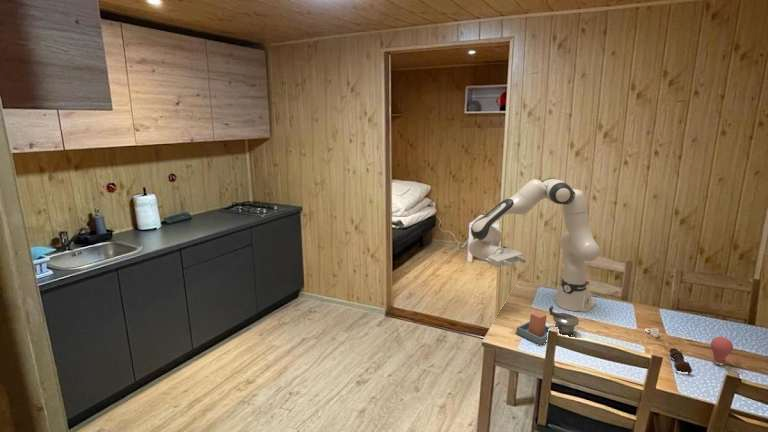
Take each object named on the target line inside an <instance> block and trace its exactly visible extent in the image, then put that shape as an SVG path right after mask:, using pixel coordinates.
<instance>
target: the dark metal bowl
mask: <svg viewBox="0 0 768 432" xmlns="http://www.w3.org/2000/svg"><path fill="white" fill-rule="evenodd" d="M553 309H554V306H553V305H550V307H549V308H548V313H549V315H551V316H552V320H553V321H554V322H555V327H558V329H559V333H560V334H562V335H568V336H570V337H572V336H571V335H573V336H574V333H575V331H574V330H575V327H576V326H578V325H579V322H580V320H579V317H577V316H575V315H572V314H569V313H568V312H567V313H566V312H555V311H553ZM555 327H554V328H555Z"/></svg>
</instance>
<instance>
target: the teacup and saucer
mask: <svg viewBox="0 0 768 432" xmlns="http://www.w3.org/2000/svg"><path fill="white" fill-rule="evenodd" d="M648 330H650V331H651V334H650V336H651V335H654V336H656V338H658V337H659V336H658V334H659V333H660V330H659V328H656V327H651V328H647V327H646V328H645V329H644V332H645V331H646V332H650V331H648Z"/></svg>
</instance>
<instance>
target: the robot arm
mask: <svg viewBox="0 0 768 432" xmlns="http://www.w3.org/2000/svg"><path fill="white" fill-rule="evenodd" d="M544 199H547V200H548V201H551V202H553V203H554V204H557V205H562V211H563V212H562V213H563V221H564V227H565V229H566V230H567V231H566V232H564V233H562V234H561V236H560V238H559V245H560V247H561V250H562V255H563V273H562V279H561V281H560V285H559V286H558V288H557V293H556V296H555V297H554V298H553V300H554V301H555V303H556V305H557V306H558V307H560V308H561V309H564V310H566V311H567V310H568V311H571V312H572V311H573V312H582V313H588V312H589V311H590V310H591V309H592V308H594V306H596V304H597V302H596V301H595V300H593V298H592V296H593V293H592V292H591V291H590V290H589V289H588V288H587V286H589V285H590V281H588V280H587V276H588V275H587V274H588V266H587V264H586V262H593V261H595V260H596V259H598V257H599V256H600V252H601V249H600V246H599V245H598V244H597V241H596V240H595V238H594V235H593V232H592V230H591V227H590V223H589V214H588V207H587V201H586V200H587V199H586V197H585V194H584V192H583V191H582V190H580V189H578V188H572V186H570V185H569V184H568V183H566V182H565V181H563V180H561V179H558V178H556V177H549V178H546V179H544V180H540V179H531V180H530V181H528V182H527V183H526V184H524V185H523V186H522V187H521V188H519V190H518V191H517V192H516V193H514V194H513V195H512V196H510V197H509V198H507V199H506V198H505V199H503V200H502V201H501V202H499V203H498V204H496V205H495V206H494V207H493V208H491V210H489V211H488V212H487V213H486V214H485V215H483V216H482V217H480V218H478V219H476V220H475V221H474V222H473V223H472V225H471V227H470V234H471V236H472V237H473V238H475V239H473V240H471V241H470V242H469V244H468V252H469V253H470V255H472V256H473V257H475V258H477V259H480V260H483V261H485V262H487V264H488V265H490V266H493V267H495V268H499V267H503V266H505V267H511V268H512V267H514V266H515V263H516V262H520V263H522V264H525V263H526V261H527V259H526V258H524V256H523V253H522V252H521V251H519V250H516V249H513V248H510V247H509V246H499V244H500V241H501V240H502V233H501V231H500V230H499V229H497V227H495V226H494V224H495V223H496V222H498V221H499V220H500V219H501V218H503V217H504V216H506V215H508V214H511V215H512V214H515V215H519V216H520V215H525V214H528V213H529V212H530V211H531V210H532V209H534V208H535V206H536V205H537V204H538V203H539V202H540V201H542V200H544ZM585 261H586V262H585Z"/></svg>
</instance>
